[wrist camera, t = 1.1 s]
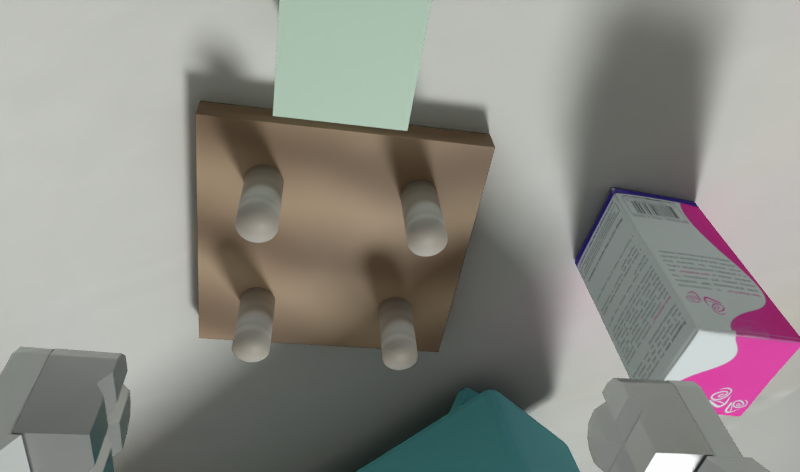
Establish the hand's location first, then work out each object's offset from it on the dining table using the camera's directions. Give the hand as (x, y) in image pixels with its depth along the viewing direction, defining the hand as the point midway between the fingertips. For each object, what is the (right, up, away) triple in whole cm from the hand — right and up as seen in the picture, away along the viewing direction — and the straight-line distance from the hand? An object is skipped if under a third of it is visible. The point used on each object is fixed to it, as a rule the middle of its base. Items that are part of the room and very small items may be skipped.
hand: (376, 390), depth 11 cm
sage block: (-2, +14, +19) cm, 24 cm away
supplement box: (+15, +3, +29) cm, 33 cm away
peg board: (-3, +3, +27) cm, 27 cm away
